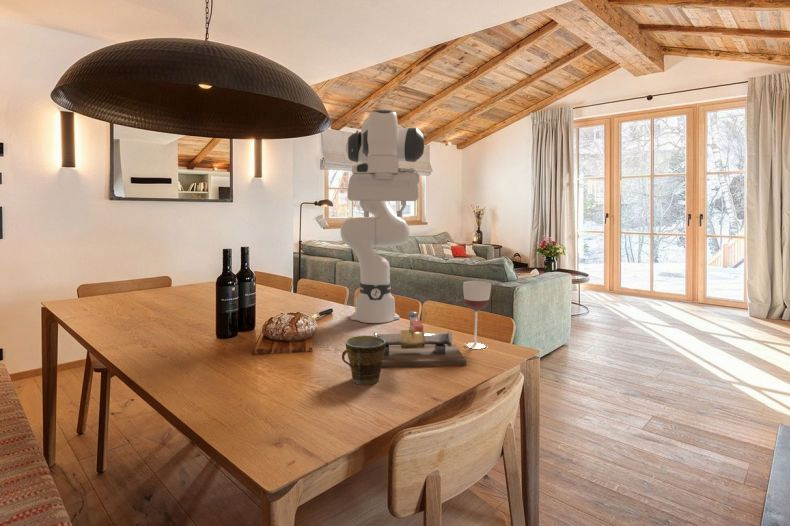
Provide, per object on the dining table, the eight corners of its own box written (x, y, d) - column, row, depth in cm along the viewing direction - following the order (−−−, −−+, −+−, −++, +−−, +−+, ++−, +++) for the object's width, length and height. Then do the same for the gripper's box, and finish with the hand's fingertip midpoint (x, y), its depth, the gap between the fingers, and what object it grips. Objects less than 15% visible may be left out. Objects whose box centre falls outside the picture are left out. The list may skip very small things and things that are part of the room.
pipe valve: (373, 350, 132) (373, 325, 131) (448, 349, 134) (448, 324, 133) (374, 356, 127) (374, 330, 126) (452, 355, 129) (452, 329, 128)
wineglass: (456, 343, 144) (458, 281, 142) (480, 341, 147) (482, 280, 145) (469, 351, 137) (471, 285, 135) (494, 348, 140) (496, 284, 138)
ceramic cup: (364, 370, 121) (364, 333, 120) (393, 379, 115) (394, 340, 113) (328, 384, 111) (327, 344, 110) (357, 395, 105) (357, 353, 103)
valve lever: (407, 324, 131) (407, 311, 130) (416, 324, 131) (416, 311, 130) (413, 339, 117) (413, 324, 116) (423, 339, 117) (423, 323, 116)
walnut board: (363, 351, 136) (363, 346, 136) (455, 349, 139) (455, 344, 138) (363, 367, 123) (363, 362, 122) (465, 365, 125) (466, 360, 125)
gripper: (418, 169, 133) (417, 217, 134) (347, 168, 131) (347, 217, 132) (421, 167, 127) (420, 217, 128) (347, 166, 125) (347, 216, 126)
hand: (382, 217), depth 130 cm, fingers open, 8 cm apart
